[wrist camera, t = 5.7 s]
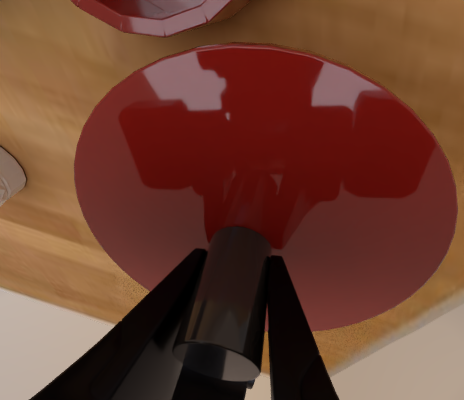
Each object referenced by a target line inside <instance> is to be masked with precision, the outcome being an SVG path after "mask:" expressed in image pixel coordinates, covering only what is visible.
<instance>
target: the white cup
mask: <svg viewBox="0 0 464 400" xmlns="http://www.w3.org/2000/svg"><path fill="white" fill-rule="evenodd" d="M25 183H26V177H25V174H24V172H23V169H22V168H21V167H20V165H19V164H18V162H17V161H16V160H15V159H14V158H13V157H12V156H11V155H10V154H9V153H8V152H6V151H5V150H4V149H3V148H1V147H0V206H1V205H2V204H3V203H4V202H5V201H6V200H8V199H9V198H11V197H12V196H13V195H15V194H16V193H17V192H19V191H20V190H21V189H23V188H24V186H25Z"/></svg>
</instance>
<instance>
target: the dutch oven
mask: <svg viewBox="0 0 464 400" xmlns="http://www.w3.org/2000/svg"><path fill="white" fill-rule="evenodd" d="M71 1H72V2H73V3H74V4H75V5H76V6H77V7H79V8H80V9H81V10H83V11H85V12H87V13H89V14H91V15H92V16H94V17H96V18H98V19H100V20H101V21H103V22H105V23H107V24H109V25H111V26H112V27H114V28H116V29H118V30H120V31H123V32H124V33H132V34H140V35H148V36H156V37H164V38H165V37H170V36H174V35H177V34H181V33H185V32H188V31H192V30H195V29H199V28H202V27H205V26H208V25H211V24H214V23H217V22H220V21H223V20H225V19H228V18H230V17H232V16H233V15H234V14H236V13H237V12H238V11H239V10H240V9H242V8H243V7H244V6H245V5H247V4H248V3H249V2H250V1H251V0H71Z"/></svg>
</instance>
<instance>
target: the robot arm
mask: <svg viewBox="0 0 464 400" xmlns="http://www.w3.org/2000/svg"><path fill="white" fill-rule="evenodd" d="M206 252H207V251H206V249H202V248H195V249H194V250H193V251H192V252H191V253H190V254H189V255H188V256H187V257H186V258H184V259H183V260H182V261H181V262H180V263H179V264H178V265H177V266H176V267H175V268H174V269H173V270H172V271H171V272H170V273H169V274H168V275H167V276H166V277H165V278H164V279H163V280H162V281H161V282H160V283H159V284H158V285H157V286H156V287H155V288H154V289H153V290H152V291H151V292H150V293H149V294H148V295H146V296H145V297H144V298H143V299H142V300H141V301H140V302H139V303H138V304H137V305H136V306H135V307H134V308H133V309H132V310H131V311H130V312H129V313H128V314H127V315H126V316H125V317H124V318H123V319H122V321H120V322H119V323H118V324H117V325H116V326H115V327H114V328H113V329H112V330H111V331H109V332H108V333H107V334H106V335H105V336H104V337H103V338H102V339H101V340H100V341H99V342H98V343H97V344H95V345H94V346H93V347H92V348H91V349H90V350H88V351H87V352H86V353H85V354H84V355H83V356H82V357H80V358H79V359H78V360H77V361H76V362H74V363H73V364H72V365H71V366H70V367H69V368H67V369H66V370H65V371H64V372H62V373H61V374H60V375H59V376H58V377H56V378H55V379H54V380H53V381H52V382H51V383H49V384H48V385H47V386H46V387H45V388H43V389H42V390H41V391H40V392H38V393H37V394H36V395H35V396H33V397H32V398H31V399H29V400H244V398H245V394H246V388H248V389H251V388H252V387H253V385H254V382H255V379H253V380H249V381H228V380H222V379H217V378H213V377H210V376H207V375H204V374H201V373H199V372H196V371H194V370H192V369H190V368H188V367H187V366H185V365H183V364H182V363H181V362H179V361H178V360H177V359H176V358H175V356H174V355H173V352H172V347H173V344H174V341H175V339H176V336H177V333H178V330H179V327H180V325H181V322H182V319H183V316H184V313H185V311H186V308H187V305H188V302H189V299H190V297H191V294H192V291H193V288H194V285H195V283H196V280H197V277H198V274H199V271H200V269H201V266H202V263H203V260H204V257H205V255H206ZM267 312H268V340H269V362H270V381H271V400H339V398H338V396H337V394H336V392H335V389H334V387H333V385H332V382H331V380H330V377H329V375H328V372H327V370H326V368H325V365H324V362H323V360H322V357H321V355H319V350H318V347H317V345H316V342H315V339H314V337H313V334H312V332H311V329H310V327H309V324H308V321H307V319H306V316H305V314H304V311H303V308H302V306H301V303H300V301H299V298H298V296H297V293H296V290H295V288H294V285H293V283H292V280H291V277H290V275H289V272H288V270H287V267H286V264H285V262H284V259H283V257H282V256H278V255H271V256H270V264H269V272H268V281H267Z"/></svg>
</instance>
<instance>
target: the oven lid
mask: <svg viewBox="0 0 464 400" xmlns="http://www.w3.org/2000/svg"><path fill="white" fill-rule="evenodd" d="M74 181H75V187H76V193H77V198H78V201H79V204H80V207H81V210H82V213H83V216H84V218H85V220H86V222H87V224H88V226H89V228H90V230H91V232H92V233H93V235H94V236H95V238H96V239H97V241H98V242H99V244H100V245H101V246H102V248H103V249H104V250H105V252H106V253H107V254H108V255H109V257H110V258H111V259H112V260H113V261H114V262H115V263H116V264H117V265H118V266H119V267H120V268H121V269H122V270H123V271H124V272H126V273H127V274H128V275H129V276H130V277H131V278H132V279H134V280H135V281H136V282H138V283H139V284H140V285H142V286H143V287H144V288H146V289H147V290H149V291H150V292H151V291H152V290H153V289H154V288H155V287H156V286H157V285H158V284H159V283H160V282H161V281H162V280H163V279H164V278H165V277H166V276H167V275H168V274H169V273H170V272H171V271H172V270H173V269H174V268H175V267H176V266H177V265H178V264H179V263H180V262H181V261H182V260H183V259H184V258H186V257H187V256H188V255H189V254H190V253H191V252H192V251H193V250H194V249H195V248H202V249H206V251H207V252H206V255H205V257H204V260H203V263H202V266H201V269H200V271H199V274H198V277H197V280H196V283H195V285H194V288H193V291H192V294H191V297H190V299H189V302H188V305H187V308H186V311H185V313H184V316H183V319H182V322H181V325H180V327H179V330H178V333H177V336H176V339H175V341H174V344H173V347H172V352H173V355H174V356H175V358H176V359H177V360H178V361H179V362H181V363H182V364H183V365H185V366H187V367H188V368H190V369H192V370H194V371H196V372H199V373H201V374H204V375H207V376H210V377H213V378H217V379H222V380H228V381H249V380H253V379H255V378H257V377H258V376H259V375H260V373H261V366H262V355H263V345H264V334H265V331H268V312H267V281H268V272H269V264H270V256H271V255H278V256H282V257H283V259H284V262H285V264H286V267H287V270H288V272H289V275H290V277H291V280H292V283H293V285H294V288H295V290H296V293H297V296H298V298H299V301H300V303H301V306H302V308H303V311H304V314H305V316H306V319H307V321H308V324H309V327H310V329H311V332H313V331H322V330H329V329H334V328H340V327H344V326H348V325H352V324H355V323H359V322H362V321H365V320H367V319H370V318H373V317H375V316H378V315H380V314H382V313H384V312H386V311H388V310H390V309H392V308H394V307H395V306H397V305H399V304H400V303H402V302H403V301H405V300H406V299H408V298H409V297H411V296H412V295H413V294H414V293H415V292H416V291H418V290H419V289H420V288H421V287H422V286H423V285H424V284H425V283H426V282H427V281H428V280H429V279H430V278H431V276H432V275H433V274H434V273H435V272H436V271H437V269H438V268H439V266H440V264H441V263H442V261H443V259H444V258H445V256H446V254H447V253H448V250H449V247H450V244H451V242H452V239H453V236H454V234H455V227H456V220H457V214H458V206H457V192H456V184H455V181H454V178H453V174H452V171H451V168H450V165H449V161H448V159H447V157H446V156H445V154H444V152H443V150H442V148H441V147H440V145H439V143H438V141H437V139H436V138H435V136H434V134H433V133H432V132H431V131H430V130H429V128H428V127H427V126H426V125H425V124H424V123H423V121H422V120H421V119H420V118H419V117H418V116H417V114H416V113H415V112H414V111H413V110H412V109H411V108H410V107H409V106H408V105H407V104H406V103H404V102H403V101H402V100H401V99H399V98H398V97H397V96H396V95H395V94H393V93H392V92H391V91H390V90H388V89H387V88H386V87H385V86H383V85H382V84H381V83H380V82H378V81H376V80H374V79H373V78H371V77H369V76H367V75H365V74H364V73H362V72H360V71H358V70H357V69H355V68H353V67H351V66H349V65H348V64H345V63H343V62H340V61H337V60H334V59H331V58H329V57H326V56H323V55H320V54H318V53H315V52H312V51H308V50H303V49H298V48H293V47H288V46H283V45H277V44H272V43H245V42H232V43H223V44H215V45H207V46H199V47H196V48H192V49H189V50H185V51H182V52H179V53H175V54H172V55H168V56H166V57H163V58H161V59H159V60H157V61H155V62H153V63H151V64H149V65H147V66H145V67H143V68H141V69H139V70H137V71H134V72H133V73H132V74H130V75H129V76H128V77H126V78H125V79H124V80H122V81H121V82H120V83H118V84H117V85H116V86H114V87H113V88H112V89H111V90H110V91H109V92H108V93H107V94H106V95H105V96H104V97H103V99H102V100H101V101H100V102H99V103H98V104H97V105H96V106H95V108H94V110H93V111H92V113H91V115H90V116H89V118H88V120H87V121H86V123H85V125H84V127H83V130H82V132H81V135H80V138H79V141H78V144H77V148H76V155H75V161H74Z"/></svg>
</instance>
